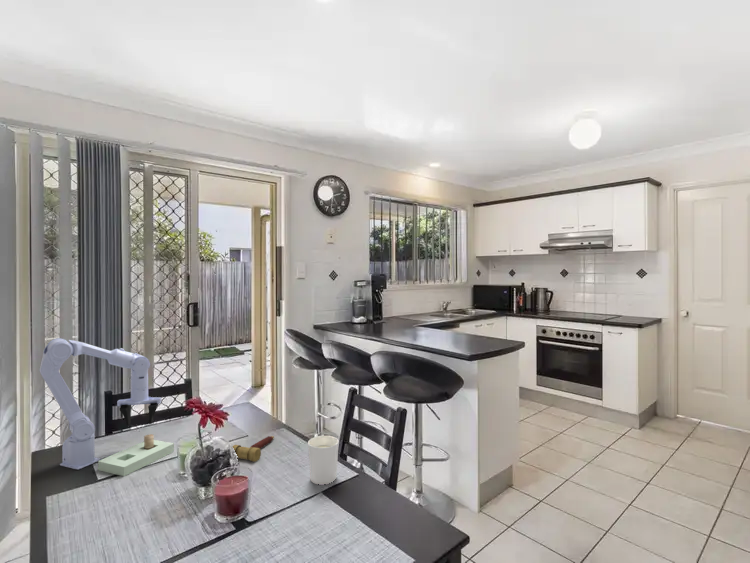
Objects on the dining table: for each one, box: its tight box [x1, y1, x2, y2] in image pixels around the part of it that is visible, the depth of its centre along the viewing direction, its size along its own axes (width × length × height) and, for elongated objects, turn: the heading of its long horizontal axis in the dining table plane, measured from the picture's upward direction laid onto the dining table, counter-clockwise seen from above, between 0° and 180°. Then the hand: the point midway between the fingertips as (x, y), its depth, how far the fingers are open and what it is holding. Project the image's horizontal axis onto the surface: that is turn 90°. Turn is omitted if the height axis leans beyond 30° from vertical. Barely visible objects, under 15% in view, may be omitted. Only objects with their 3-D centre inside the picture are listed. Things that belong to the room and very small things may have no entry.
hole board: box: [97, 439, 175, 477], centre depth 145 cm, size 12×20×3 cm, turn 160°
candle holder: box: [307, 435, 340, 486], centre depth 132 cm, size 10×10×12 cm
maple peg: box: [143, 433, 155, 450], centre depth 149 cm, size 3×3×7 cm
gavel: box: [232, 435, 275, 463], centre depth 154 cm, size 21×5×10 cm
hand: (139, 423), depth 154 cm, fingers open, 7 cm apart
